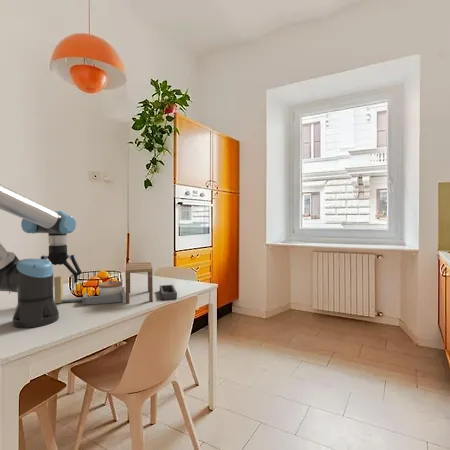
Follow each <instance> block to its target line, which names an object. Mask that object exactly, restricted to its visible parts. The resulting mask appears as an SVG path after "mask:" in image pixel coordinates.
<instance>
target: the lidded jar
mask: <svg viewBox="0 0 450 450" xmlns="http://www.w3.org/2000/svg"><path fill="white" fill-rule="evenodd" d="M122 287H123V282H122V281H118V280H112V279H109V280H108V281H103V282H99V283H98V289H99V294H100V295H99V296H105V295H120V294H121V291H122Z"/></svg>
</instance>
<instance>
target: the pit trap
mask: <svg viewBox="0 0 450 450" xmlns="http://www.w3.org/2000/svg"><path fill="white" fill-rule="evenodd" d="M159 293H160V297H161V300H162V301H164V300H165V301H166V300H177V299H178V292H177V290H176V288H175V286H174V284H164V285H162V284H161V285H159Z"/></svg>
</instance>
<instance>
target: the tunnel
mask: <svg viewBox="0 0 450 450" xmlns="http://www.w3.org/2000/svg"><path fill="white" fill-rule="evenodd" d="M124 273H125V304H130V294H131V274H138V273H147V293H148V297H149V298H148V301H149V302H151V303H152V302H154V301H153V299H154V297H153V296H154V295H153V293H154V292H153V265H152V262H151V261H149V262H148V261H144V262H127V263H126V265H125V272H124Z"/></svg>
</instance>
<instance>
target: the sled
mask: <svg viewBox="0 0 450 450" xmlns="http://www.w3.org/2000/svg"><path fill="white" fill-rule="evenodd" d="M53 291H54V302H55V304H62V303H71V302H81V303H82V305H83V306H84V305H85V306H86V305H95V304H99V305H100V304H110V303H122V302H124V301H125V300H124V299H125V295H126V286H122V291H121V294H120V295H105V296H100V295H99V296H90V297H88V293H86V292H85V293H84V295H83V296H82V297H66V298H64V275H63V274H57V275H55V276H53Z"/></svg>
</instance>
